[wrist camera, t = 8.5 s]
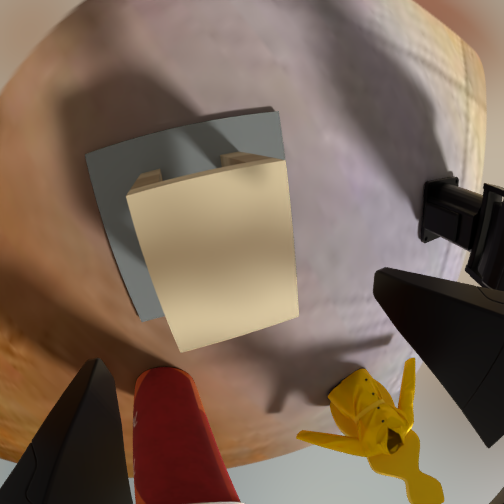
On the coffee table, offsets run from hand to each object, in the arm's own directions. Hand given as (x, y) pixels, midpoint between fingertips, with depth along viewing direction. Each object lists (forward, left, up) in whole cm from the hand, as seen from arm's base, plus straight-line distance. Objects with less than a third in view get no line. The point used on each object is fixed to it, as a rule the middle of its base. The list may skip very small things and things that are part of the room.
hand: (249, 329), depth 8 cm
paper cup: (+7, +14, -11) cm, 19 cm away
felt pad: (0, 0, -11) cm, 11 cm away
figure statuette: (-13, +26, -11) cm, 31 cm away
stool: (0, 0, -11) cm, 11 cm away
